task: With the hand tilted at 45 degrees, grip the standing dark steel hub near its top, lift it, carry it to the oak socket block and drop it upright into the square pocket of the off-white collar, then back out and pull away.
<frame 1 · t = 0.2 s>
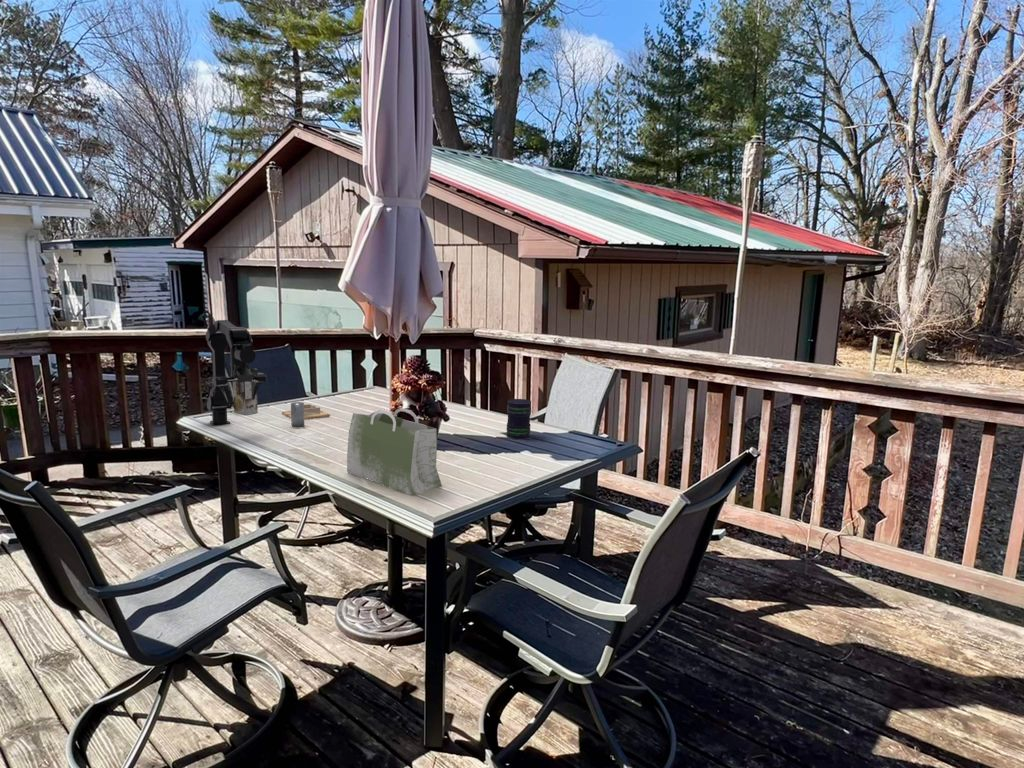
hand: (240, 400, 242), 14 cm above the table, tool pointing down, fingers open, 9 cm apart
socket block: (306, 415, 285), on the table
storage jar: (518, 437, 260), on the table
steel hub: (297, 426, 264), on the table
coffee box: (246, 413, 286), on the table
grocery bag: (393, 479, 202), on the table
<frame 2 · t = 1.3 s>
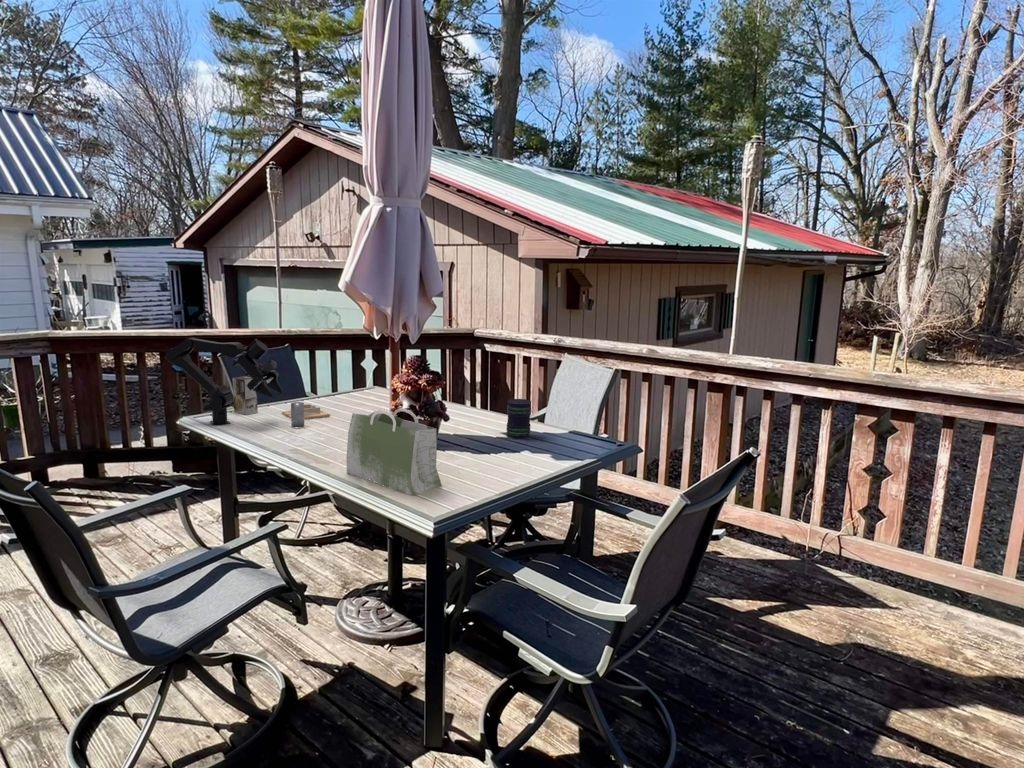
hand: (277, 394, 262), 13 cm above the table, tool tilted 45°, fingers open, 9 cm apart
nothing on the table moved.
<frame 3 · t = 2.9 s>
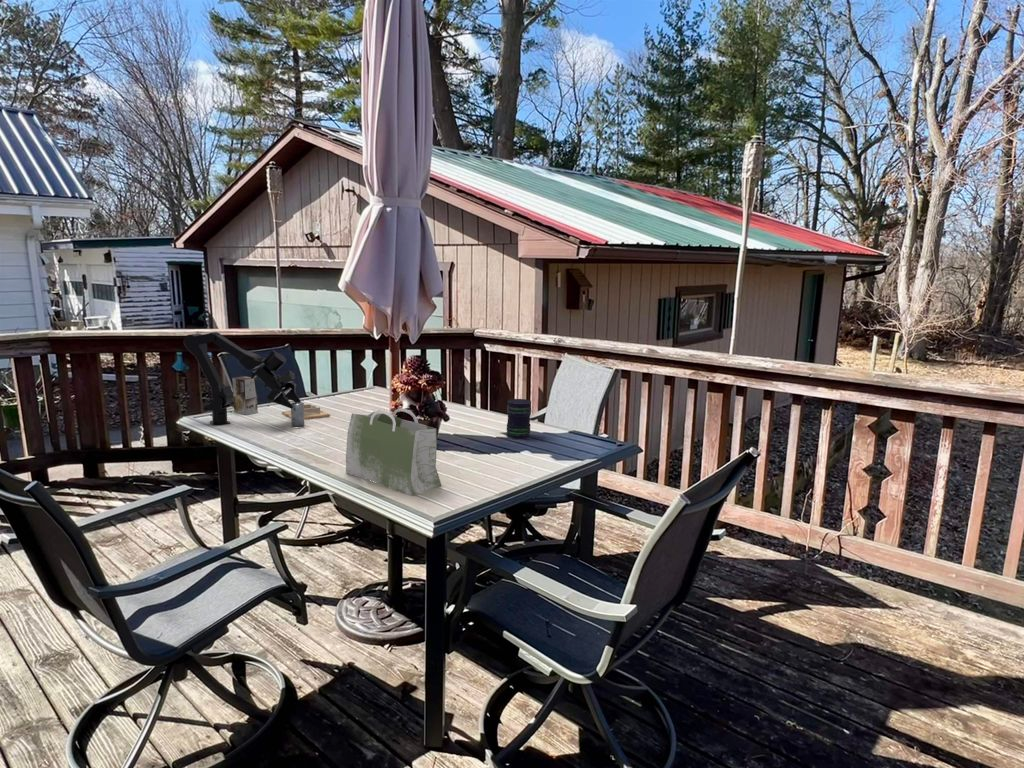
hand: (296, 405, 263), 9 cm above the table, tool tilted 45°, fingers open, 9 cm apart
nothing on the table moved.
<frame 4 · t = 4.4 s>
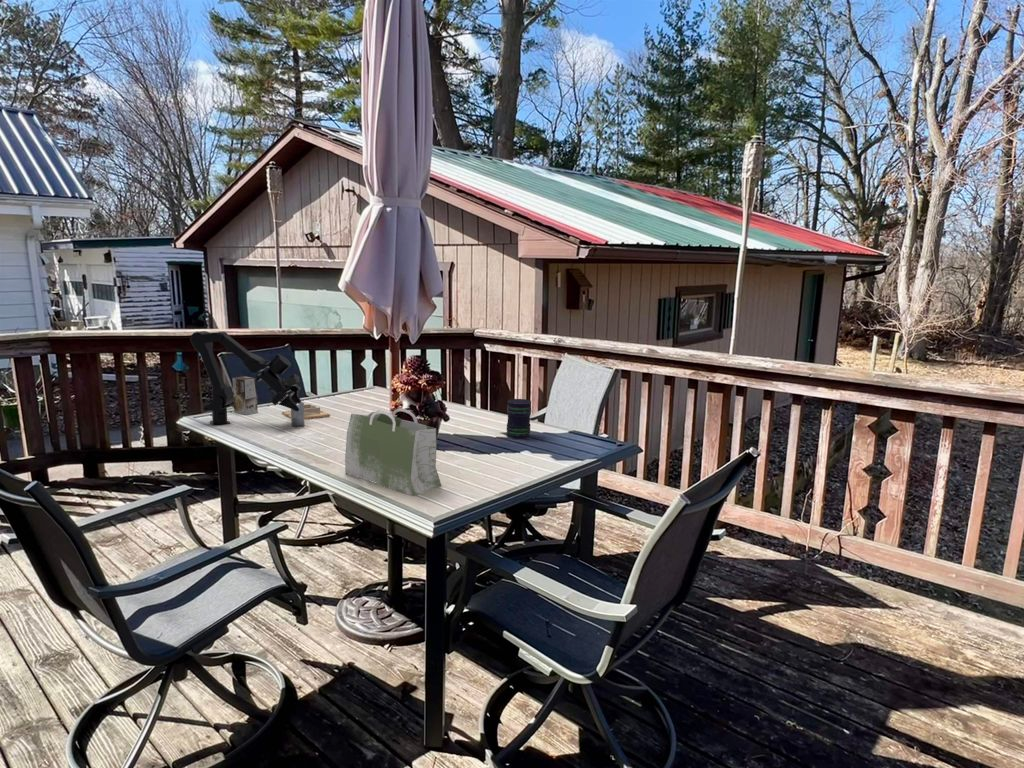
hand: (300, 409, 263), 8 cm above the table, tool tilted 45°, fingers closed on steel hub, 5 cm apart
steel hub: (297, 426, 264), on the table, touching gripper
everything else where it was.
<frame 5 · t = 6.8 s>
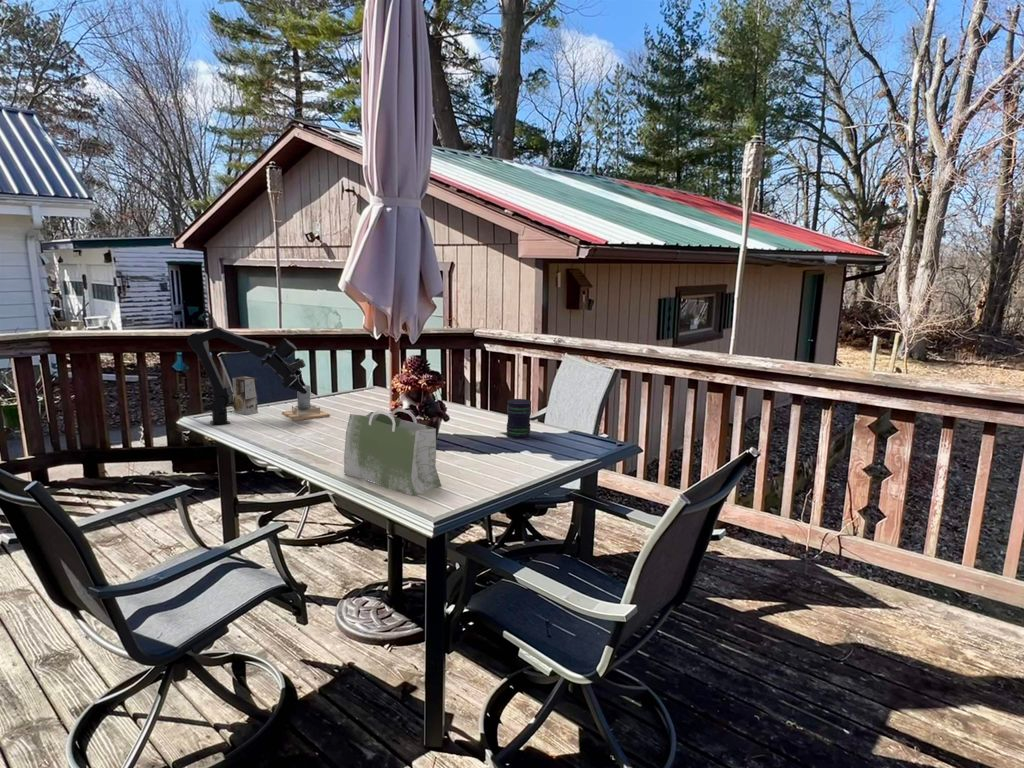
hand: (307, 391, 270), 13 cm above the table, tool tilted 45°, fingers closed on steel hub, 5 cm apart
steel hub: (304, 409, 271), point 6 cm above the table, touching gripper
everything else where it was.
when the fingers open (10 cm above the table, at t = 9.2 s): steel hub drops 1 cm, resting on socket block.
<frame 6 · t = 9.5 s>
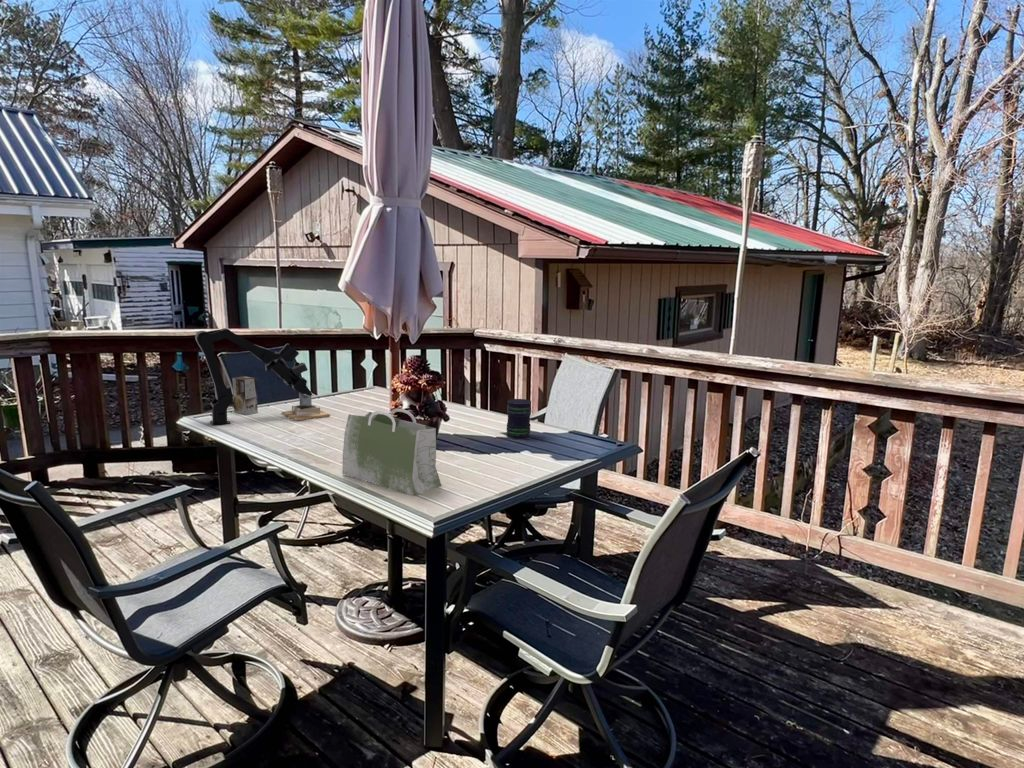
hand: (308, 393, 284), 10 cm above the table, tool tilted 45°, fingers open, 9 cm apart
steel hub: (305, 413, 284), point 1 cm above the table, touching socket block
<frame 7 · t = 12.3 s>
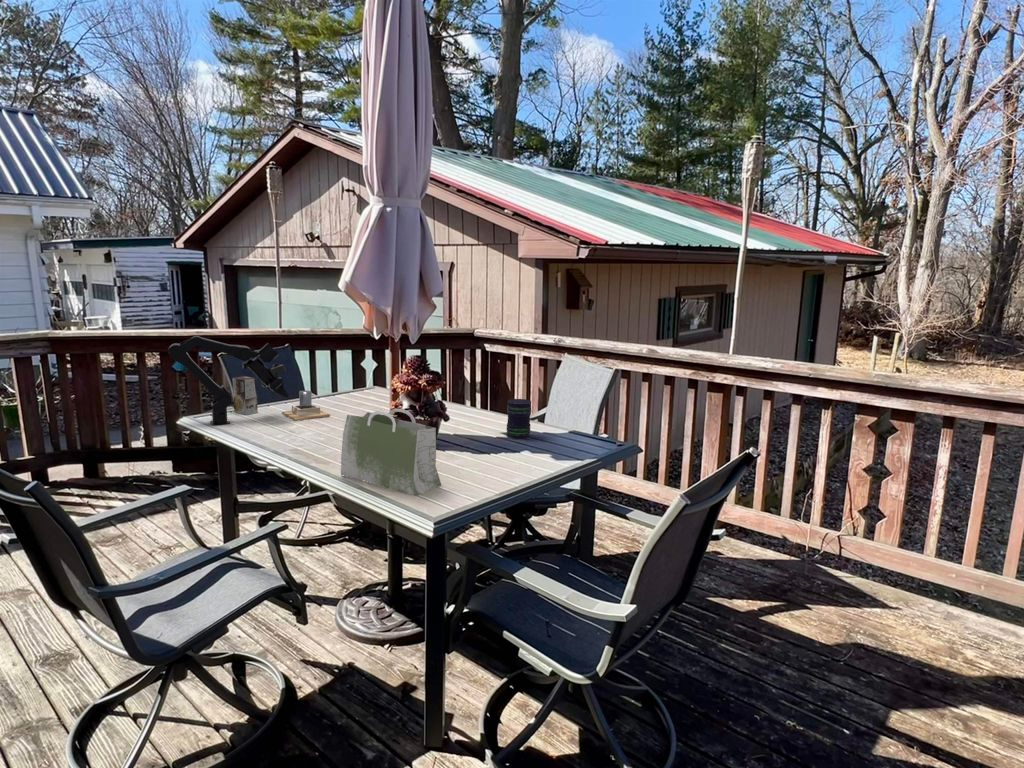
hand: (285, 396, 275), 10 cm above the table, tool tilted 40°, fingers open, 9 cm apart
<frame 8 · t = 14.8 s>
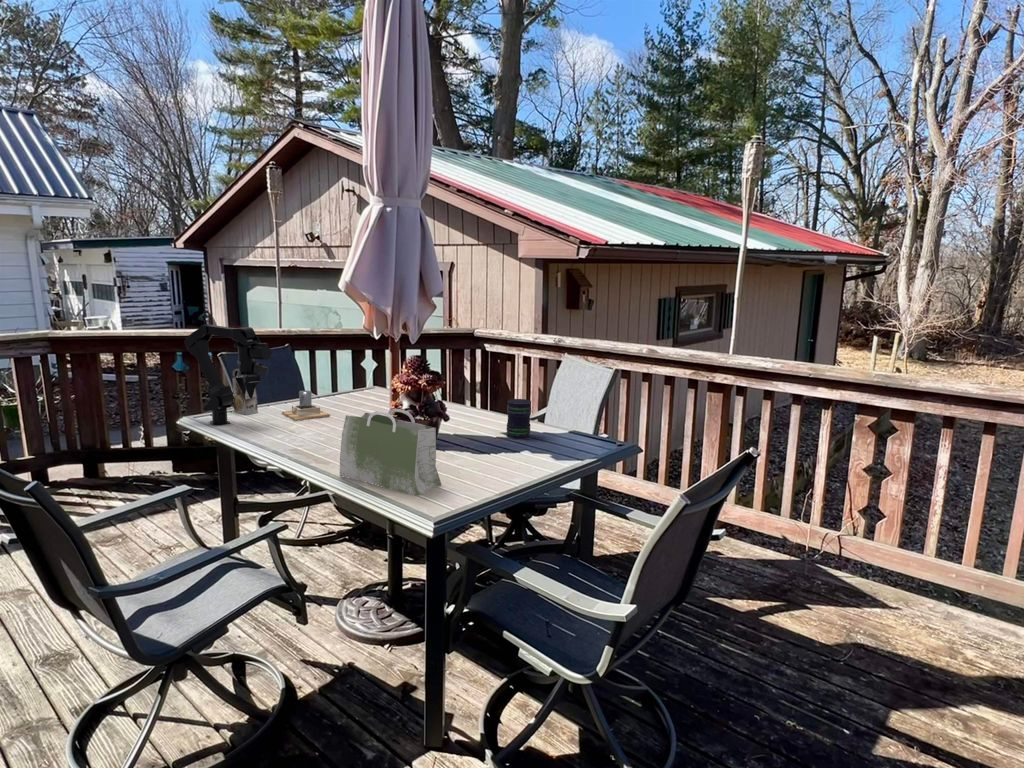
hand: (247, 395, 259), 13 cm above the table, tool pointing down, fingers open, 9 cm apart
at the end: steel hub 0.1 cm off-centre on the socket block, point 1.0 cm above the socket block's base; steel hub tilted 0°; the gripper is holding nothing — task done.
